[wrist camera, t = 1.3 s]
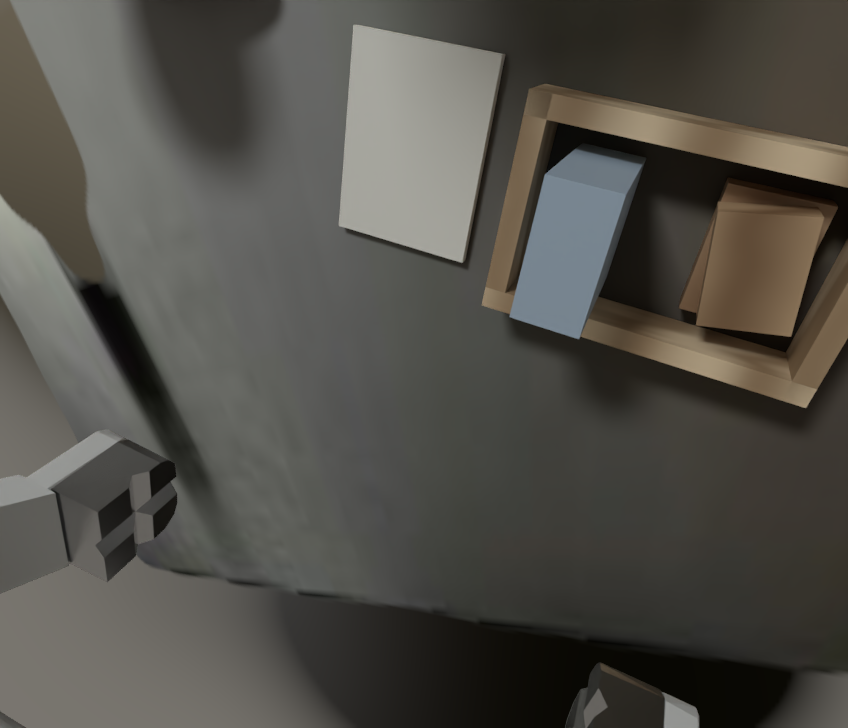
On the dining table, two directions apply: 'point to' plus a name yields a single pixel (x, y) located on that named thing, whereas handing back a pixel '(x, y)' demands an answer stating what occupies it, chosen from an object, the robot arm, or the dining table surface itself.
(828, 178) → the wooden tray
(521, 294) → the blue grey block
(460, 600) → the dining table surface
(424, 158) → the mat
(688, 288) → the offcut lower
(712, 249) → the offcut upper
